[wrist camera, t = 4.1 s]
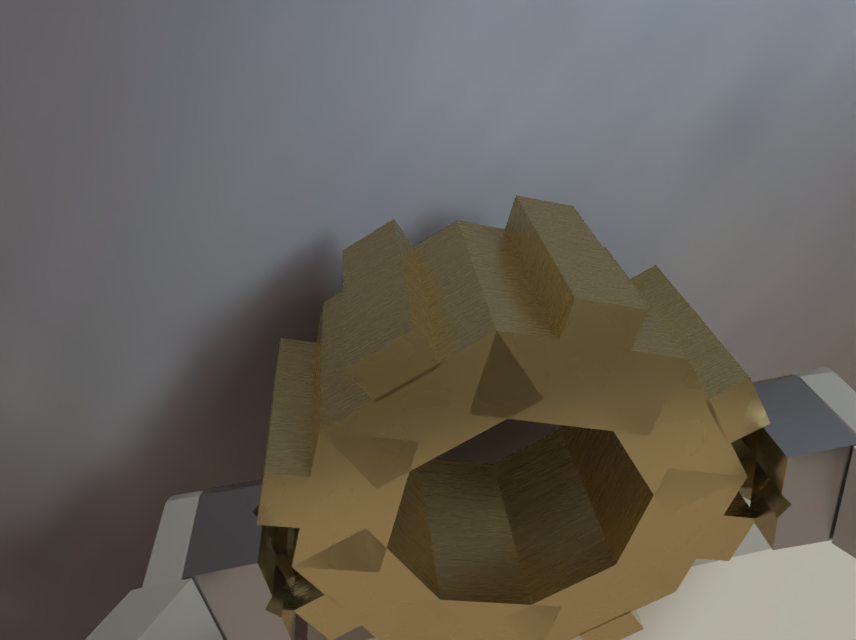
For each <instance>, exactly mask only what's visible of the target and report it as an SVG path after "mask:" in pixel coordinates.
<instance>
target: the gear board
mask: <svg viewBox="0 0 856 640" xmlns="http://www.w3.org/2000/svg"><path fill="white" fill-rule="evenodd" d="M742 497H743V496H742ZM743 498H744V497H743ZM744 500H745V501H746V503H747V504H748V506H749V507H750V502H751V501H750V500H748V499H746V498H744ZM637 613H638V615H639V618H640V620H641V622H642V625H643V627H644V629H643V630H641V631H639V632H637V633H634V634H632V635H630V636H628V637H625V638H623V639H621V640H856V558H854V557H853V556H851V555H849V554H848V553H846V552H845V551H843V550H842V549H840V548H838V547H837V546H835V545H834V544H832V540H830V541H824V542H818V543H812V544H807V545H801V546H795V547H789V548H783V549H778V550H772V548H771V547H770V545H769V544H768V542H767V541H766V539H765V538H764V536H763V535H762V533H761V532H760V530H759V529H758V527H757V526H756V524H755V523H754V524H753V526H752V527H751V529H750V530H749V532H748V533H747V535H746V536H745V538H744V539H743V541H742V542H741V544H740V545H739V547H738V548H737V550H736V551H735V553H734V554H733V556H732V558H731V559H730V561H722V560H709V559H696V560H695V562H694V563H693V565H692V567H691V568H690V570H689V571H688V573H687V575H686V576H685V578H684V579H683V581H682V583H681V584H680V586H679V587H678V589H677V591H676V592H674V593H672V594H670V595H668V596H665V597H663V598H661V599H659V600H657V601H654V602H652V603H650V604H648V605H646V606H644V607H641V608H639V609H637ZM307 640H329V639H328V638H326V637H325V636H324V635H323V634H321V633H320V632H319V631H318V630H316V629H315V628H314V627H313V626H311V625H310V624H309V623H308V629H307ZM333 640H378V639H377V638H376V637H375V636H373V635H372V634H371V633H370V632H369V631H367V630H366V629H365V628H364V627H363V626H359V627H357V628H355V629H353V630H351V631H349V632H347V633H345V634H343V635H341V636H339V637H337V638H335V639H333ZM571 640H583V639H582V638H581V637H580V636H578V637H576V638H574V639H571Z"/></svg>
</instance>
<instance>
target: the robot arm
mask: <svg viewBox="0 0 856 640" xmlns="http://www.w3.org/2000/svg"><path fill="white" fill-rule="evenodd" d="M752 383H753V385H754V387H755V389H756V392H757V394H758V396H759V398H760V401H761V403H762V405H763V407H764V410H765V412H766V414H767V416H768V419H769V421H770V424H768V425H766V426H764V427H762V428H760V429H758V430H756V431H754V432H752V433H750V434H748V435H746V436H744V437H742V438H740V439H738V440H736V441H734V442H732V443H731V444H732V446H733V448H734V450H735V452H736V454H737V456H738V458H739V460H740V462H741V464H742V466H743V468H744V470H745V472H746V474H747V476H748V477H747V478H746V480H745V481H744V483H743V485H742V486H741V488H740V489H739V492H740V494H741V495H742V496H743V497H744V498H746V499H748V500H750V501H751V502H750V510H751V512H752V513H753V515H754V516H755V518H756V521H755V524H756V526H757V527H758V529H759V530H760V532H761V533H762V535H763V536H764V538H765V539H766V541H767V542H768V544H769V545H770V547H771V548H772V550H778V549H783V548H789V547H795V546H801V545H807V544H812V543H818V542H824V541H830V540H832V544H834V545H835V546H837V547H838V548H840V549H842V550H843V551H845V552H846V553H848V554H849V555H851V556H853V557H854V558H856V392H855V391H854V390H852V389H851V388H850V387H849V386H848V385H847V384H846V383H845V382H844V381H843V380H842V379H841V378H840V377H839V376H838V375H837V374H836V373H835V372H834V371H832V370H830V369H828V368H825V367H822V368H817V369H812V370H808V371H803V372H798V373H794V374H790V375H789V376H781V377H776V378H771V379H767V380H762V381H757V382H752ZM261 483H262V479H261V480H255V481H249V482H244V483H238V484H232V485H226V486H221V487H215V488H209V489H205V490H203V491H196V492H190V493H184V494H178V495H172V496H171V497H170V498H169V499H168V500H167V502H166V503H165V505H164V509H163V512H162V516H161V519H160V523H159V527H158V530H157V534H156V537H155V541H154V545H153V548H152V552H151V556H150V559H149V563H148V566H147V570H146V574H145V577H144V581H143V584H142V588H139V589H135V590H131V591H130V592H129V593H128V594H127V595H126V596H125V597H124V598H123V600H122V601H121V602H120V603H119V604H118V605H117V606H116V607H115V608H114V609H113V610H112V611H111V612H110V613H109V614H108V616H107V617H106V618H105V619H104V620H103V621H102V622H101V623H100V624H99V625H98V626H97V627H96V628H95V629H94V630H93V632H92V633H91V634H90V635H89V636H88V637H87V638H86V639H85V640H294V637H295V620H296V613H295V612H294V598H293V596H292V593H291V591H290V589H291V587H292V586H293V585H294V583H295V575H296V570H295V569H294V568H292V555H293V539H294V530H293V528H292V527H279V526H266V525H256V524H257V516H258V507H259V499H260V491H261Z"/></svg>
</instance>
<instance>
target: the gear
mask: <svg viewBox="0 0 856 640" xmlns="http://www.w3.org/2000/svg"><path fill="white" fill-rule="evenodd" d="M343 286H344V290H343V291H341V292H339V293H338V294H336V295H334V296H333V297H331V298H329V299H328V300H326V301H325V302H323V306H322V311H321V317H320V322H319V328H318V333H317V338H316V343H315V342H308V341H300V340H293V339H285V338H281V339H280V345H279V352H278V358H277V365H276V371H275V377H274V384H273V392H272V400H271V409H270V417H269V425H268V433H267V442H266V450H265V458H264V466H263V475H262V483H261V491H260V499H259V507H258V516H257V524H256V525H266V526H279V527H292V528H294V539H293V555H292V568H294V569H295V570H296V575H295V584H294V612H295V613H296V614H297V615H299V616H300V617H301V618H302V619H304V620H305V621H306V622H308V623H309V624H310V625H311V626H313V627H314V628H315V629H316V630H318V631H319V632H320V633H321V634H323V635H324V636H325V637H326V638H328V639H329V640H333V639H335V638H337V637H339V636H341V635H343V634H345V633H347V632H349V631H351V630H353V629H355V628H357V627H359V626H363V627H364V628H365V629H366V630H367V631H369V632H370V633H371V634H372V635H373V636H375V637H376V638H377V639H378V640H571V639H574V638H576V637H578V636H580V637H581V638H582V639H583V640H621V639H623V638H625V637H628V636H630V635H632V634H634V633H637V632H639V631H641V630H643V629H644V627H643V625H642V622H641V620H640V618H639V615H638V613H637V609H639V608H641V607H644V606H646V605H648V604H650V603H652V602H654V601H657V600H659V599H661V598H663V597H665V596H668V595H670V594H672V593H674V592H676V591H677V589H678V587H679V586H680V584H681V583H682V581H683V579H684V578H685V576H686V575H687V573H688V571H689V570H690V568H691V567H692V565H693V563H694V562H695V560H696V559H709V560H722V561H730V559H731V558H732V556H733V554H734V553H735V551H736V550H737V548H738V547H739V545H740V544H741V542H742V541H743V539H744V538H745V536H746V535H747V533H748V532H749V530H750V529H751V527H752V526H753V524H754V523H755V521H756V518H755V516H754V515H753V513H752V512H751V510H750V507H749V506H748V504H747V503H746V501H745V500H744V498H743V497H742V495H741V494H740V492H739V489H740V488H741V486H742V485H743V483H744V481H745V480H746V478H747V477H748V476H747V474H746V472H745V470H744V468H743V466H742V464H741V462H740V460H739V458H738V456H737V454H736V452H735V450H734V448H733V446H732V444H731V443H732V442H734V441H736V440H738V439H740V438H742V437H744V436H746V435H748V434H750V433H752V432H754V431H756V430H758V429H760V428H762V427H764V426H766V425H768V424H770V421H769V419H768V416H767V414H766V412H765V410H764V407H763V405H762V403H761V401H760V398H759V396H758V394H757V392H756V389H755V387H754V385H753V383H752V380H751V378H750V377H749V376H748V374H747V373H746V372H745V371H744V370H743V368H742V367H741V366H740V365H739V364H738V362H737V361H736V360H735V359H734V358H733V356H732V355H731V354H730V353H729V352H728V350H727V349H726V348H725V347H724V346H723V345H722V343H721V342H720V341H719V340H718V339H717V337H716V336H715V335H714V334H713V333H712V331H711V330H710V329H709V328H708V327H707V325H706V324H705V323H704V322H703V321H702V319H701V318H700V317H699V316H698V315H697V313H696V312H695V311H694V310H693V309H692V308H691V306H690V305H689V304H688V303H687V302H686V300H685V299H684V298H683V297H682V296H681V294H680V293H679V292H678V291H677V290H676V288H675V287H674V286H673V285H672V284H671V282H670V281H669V280H668V279H667V278H666V276H665V275H664V274H663V273H662V272H661V270H660V269H659V268H658V267H657V266H656V265H655V266H653V267H651V268H649V269H648V270H646V271H644V272H642V273H641V274H639V275H637V276H635V277H633V278H632V279H629V278H628V276H627V275H626V274H625V272H624V271H623V270H622V268H621V267H620V266H619V264H618V263H617V262H616V260H615V259H614V258H613V256H612V255H611V254H610V252H609V251H608V249H607V248H606V247H603V246H602V245H601V244H600V242H599V241H598V240H597V238H596V237H595V235H594V234H593V233H592V231H591V230H590V229H589V227H588V226H587V225H586V223H585V222H584V220H583V219H582V218H581V216H580V215H579V214H578V212H577V211H576V210H575V208H574V207H573V206H569V205H564V204H559V203H554V202H548V201H543V200H538V199H533V198H527V197H522V196H517V195H516V197H515V200H514V203H513V206H512V209H511V212H510V216H509V219H508V222H507V225H506V228H505V229H500V228H494V227H489V226H483V225H478V224H472V223H466V222H461V221H456V222H454V223H452V224H451V225H449V226H448V227H446V228H444V229H443V230H441V231H439V232H438V233H436V234H434V235H433V236H431V237H430V238H428V239H426V240H425V241H423V242H421V243H420V244H418V245H416V246H415V247H413V245H412V244H411V242H410V241H409V240H408V238H407V237H406V235H405V234H404V232H403V231H402V230H401V228H400V227H399V225H398V224H397V223H396V221H395V220H394V219H393V220H391V221H390V222H388V223H386V224H385V225H383V226H381V227H380V228H378V229H377V230H375V231H373V232H372V233H370V234H369V235H367V236H365V237H364V238H362V239H361V240H359V241H357V242H356V243H354V244H353V245H351V246H349V247H348V248H346V249H345V250H343ZM506 419H514V420H522V421H531V422H539V423H548V424H556V425H562V426H561V428H560V429H559V430H558V431H556V432H554V433H552V434H550V435H548V436H546V437H544V438H542V439H540V440H539V441H537V442H535V443H533V444H531V445H529V446H527V447H525V448H523V449H521V450H519V451H518V452H516V453H514V454H512V455H510V456H508V457H506V458H504V459H502V460H500V461H498V462H497V463H495V464H484V463H474V462H464V461H454V460H444V459H435V457H437V456H439V455H441V454H443V453H445V452H447V451H448V450H450V449H452V448H454V447H456V446H458V445H460V444H461V443H463V442H465V441H467V440H469V439H471V438H473V437H475V436H476V435H478V434H480V433H482V432H484V431H486V430H488V429H489V428H491V427H493V426H495V425H497V424H499V423H501V422H502V421H504V420H506Z"/></svg>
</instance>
